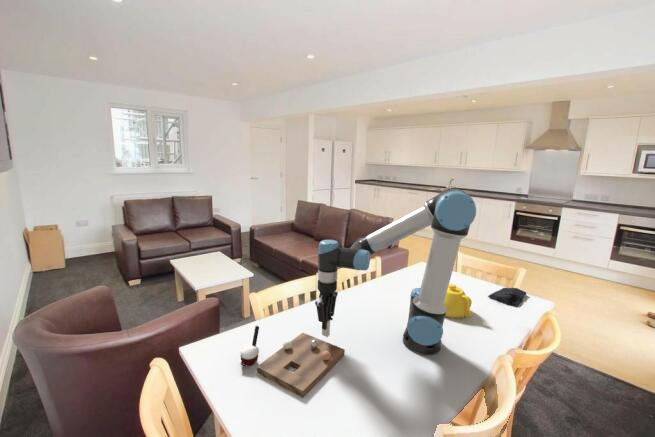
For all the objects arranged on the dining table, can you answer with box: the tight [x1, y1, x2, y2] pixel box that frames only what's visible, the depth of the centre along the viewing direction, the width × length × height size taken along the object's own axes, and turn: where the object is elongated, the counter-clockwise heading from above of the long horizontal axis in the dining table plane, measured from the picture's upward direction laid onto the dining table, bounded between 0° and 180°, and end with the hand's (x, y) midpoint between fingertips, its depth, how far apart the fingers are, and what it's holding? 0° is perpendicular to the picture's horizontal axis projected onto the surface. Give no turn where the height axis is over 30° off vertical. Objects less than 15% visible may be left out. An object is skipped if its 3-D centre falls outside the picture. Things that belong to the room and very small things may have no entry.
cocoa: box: [239, 325, 260, 367], centre depth 112 cm, size 10×6×12 cm, turn 133°
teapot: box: [444, 283, 473, 319], centre depth 156 cm, size 25×18×14 cm
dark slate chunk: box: [487, 287, 527, 308], centre depth 173 cm, size 15×22×5 cm
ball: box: [310, 340, 318, 349], centre depth 118 cm, size 3×3×3 cm
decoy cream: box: [282, 339, 292, 349], centre depth 118 cm, size 3×3×3 cm
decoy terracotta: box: [322, 351, 331, 360], centre depth 112 cm, size 3×3×3 cm
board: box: [256, 332, 346, 399], centre depth 113 cm, size 20×26×2 cm
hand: (325, 335), depth 125 cm, fingers closed
